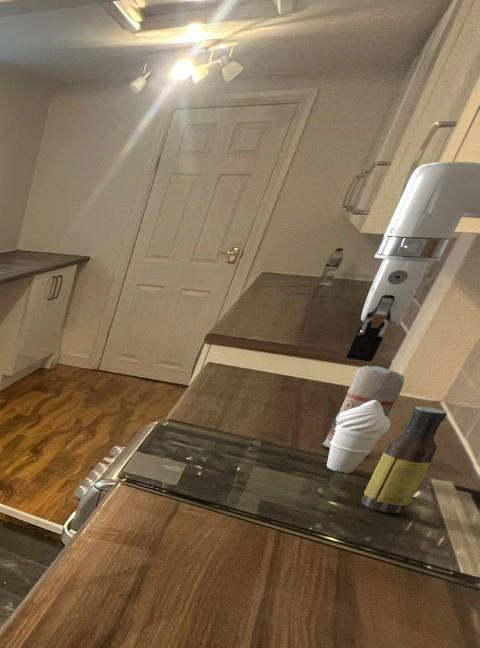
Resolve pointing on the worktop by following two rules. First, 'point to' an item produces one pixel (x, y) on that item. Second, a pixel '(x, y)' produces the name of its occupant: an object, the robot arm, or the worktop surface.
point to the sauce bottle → (404, 463)
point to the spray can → (371, 391)
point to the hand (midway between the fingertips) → (360, 355)
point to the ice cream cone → (356, 435)
